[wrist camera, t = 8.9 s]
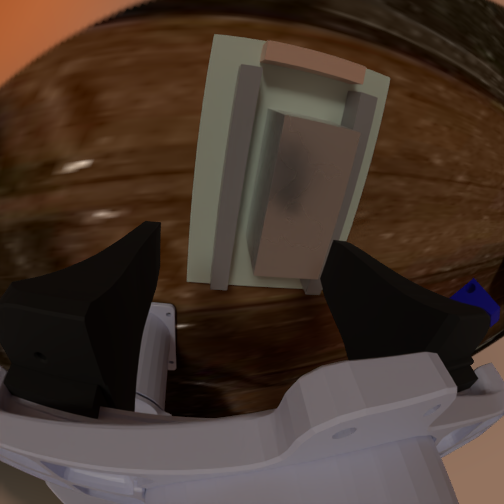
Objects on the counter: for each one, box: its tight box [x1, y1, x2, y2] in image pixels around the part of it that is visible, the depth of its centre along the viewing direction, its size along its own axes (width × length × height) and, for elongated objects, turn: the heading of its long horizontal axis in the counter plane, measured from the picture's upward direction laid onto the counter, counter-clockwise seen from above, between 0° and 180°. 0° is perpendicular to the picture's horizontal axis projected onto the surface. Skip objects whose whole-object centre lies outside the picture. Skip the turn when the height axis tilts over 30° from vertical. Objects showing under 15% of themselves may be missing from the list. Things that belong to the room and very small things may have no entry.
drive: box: [246, 108, 361, 279], centre depth 17 cm, size 9×4×5 cm, turn 171°
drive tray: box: [187, 34, 390, 295], centre depth 19 cm, size 18×12×3 cm, turn 171°
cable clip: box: [450, 278, 500, 327], centre depth 29 cm, size 12×4×6 cm, turn 127°
